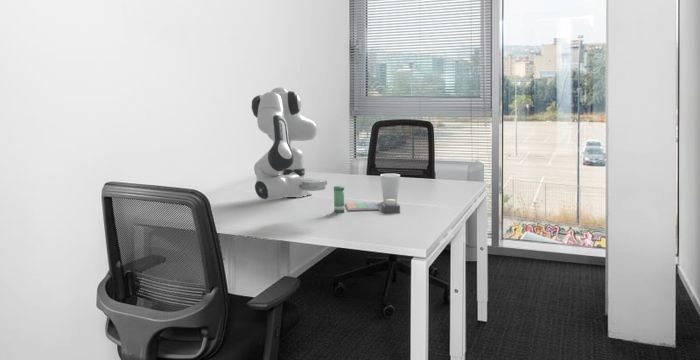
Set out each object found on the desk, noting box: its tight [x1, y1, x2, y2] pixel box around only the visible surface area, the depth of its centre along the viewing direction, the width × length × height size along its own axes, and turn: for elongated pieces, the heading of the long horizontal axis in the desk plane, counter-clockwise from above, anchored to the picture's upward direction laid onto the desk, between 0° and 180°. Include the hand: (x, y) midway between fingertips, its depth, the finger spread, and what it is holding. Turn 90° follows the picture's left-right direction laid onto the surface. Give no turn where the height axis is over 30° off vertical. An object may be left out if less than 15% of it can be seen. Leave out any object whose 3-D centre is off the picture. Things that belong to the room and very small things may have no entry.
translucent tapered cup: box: [379, 173, 401, 203], centre depth 258 cm, size 10×9×13 cm
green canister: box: [333, 185, 345, 214], centre depth 237 cm, size 5×5×11 cm
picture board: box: [344, 202, 381, 212], centre depth 247 cm, size 15×14×1 cm
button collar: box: [380, 202, 401, 214], centre depth 238 cm, size 7×7×3 cm
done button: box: [384, 199, 397, 206], centre depth 238 cm, size 4×4×3 cm
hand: (318, 181), depth 227 cm, fingers open, 8 cm apart
